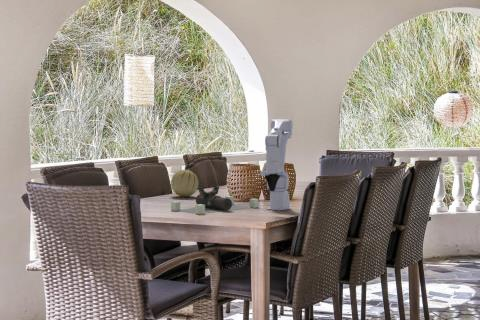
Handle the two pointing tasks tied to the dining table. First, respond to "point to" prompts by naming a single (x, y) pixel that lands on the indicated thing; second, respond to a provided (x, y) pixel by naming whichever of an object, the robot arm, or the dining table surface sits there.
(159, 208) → the dining table surface
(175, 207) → the bay
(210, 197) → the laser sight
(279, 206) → the robot arm
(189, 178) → the cantaloupe
